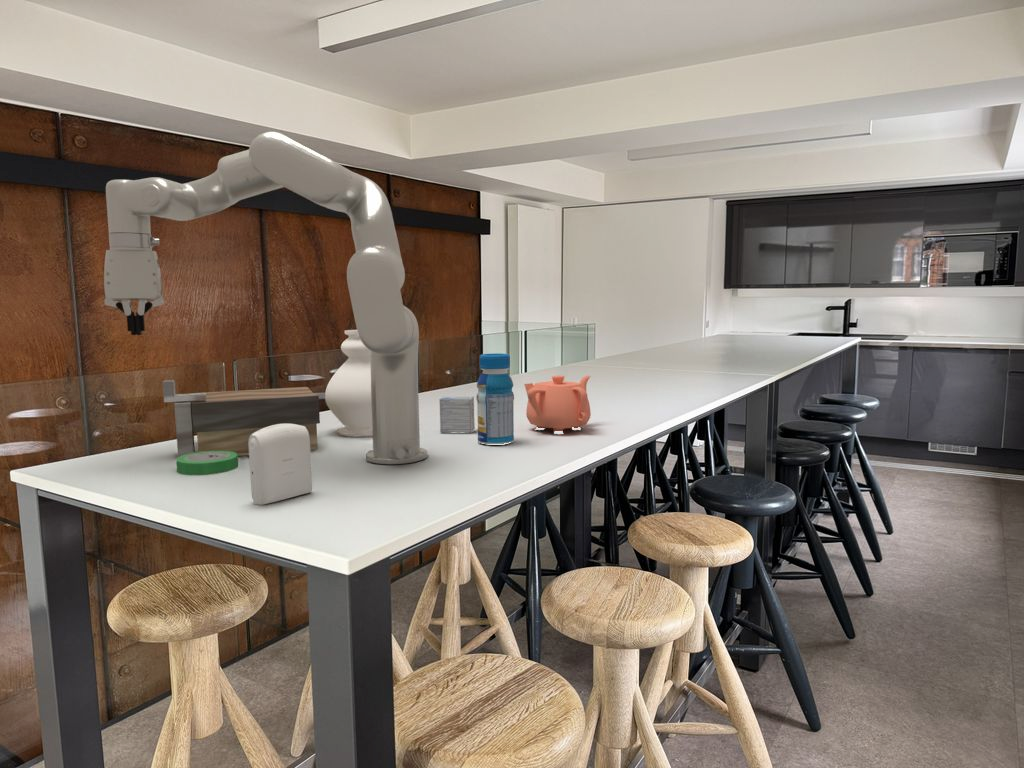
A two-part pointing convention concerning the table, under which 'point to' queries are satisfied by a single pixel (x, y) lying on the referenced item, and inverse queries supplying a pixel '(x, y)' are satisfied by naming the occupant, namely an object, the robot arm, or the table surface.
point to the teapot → (558, 403)
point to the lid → (255, 409)
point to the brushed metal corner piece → (172, 397)
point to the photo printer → (279, 463)
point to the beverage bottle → (495, 400)
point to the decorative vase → (352, 389)
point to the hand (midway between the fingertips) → (136, 334)
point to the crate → (218, 435)
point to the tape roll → (207, 462)
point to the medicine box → (457, 414)
